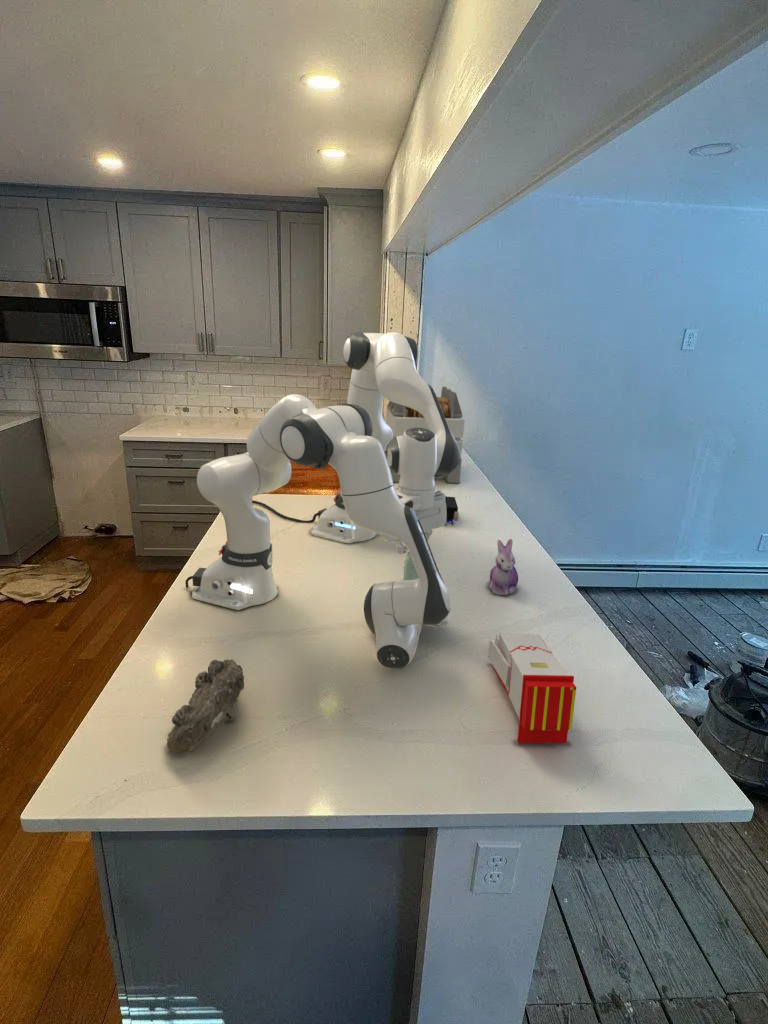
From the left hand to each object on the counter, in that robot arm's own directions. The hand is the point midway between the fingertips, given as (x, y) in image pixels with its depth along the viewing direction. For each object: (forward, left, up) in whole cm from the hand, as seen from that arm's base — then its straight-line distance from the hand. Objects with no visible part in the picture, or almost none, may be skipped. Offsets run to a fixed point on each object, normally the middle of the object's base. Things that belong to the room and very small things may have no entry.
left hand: (411, 593), depth 147 cm
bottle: (0, -1, -6) cm, 6 cm away
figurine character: (+4, +72, -6) cm, 73 cm away
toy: (+28, -28, -6) cm, 40 cm away
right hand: (0, -1, +13) cm, 13 cm away
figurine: (+24, +20, -6) cm, 32 cm away
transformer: (-14, +134, -6) cm, 135 cm away
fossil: (-31, -49, -6) cm, 58 cm away
